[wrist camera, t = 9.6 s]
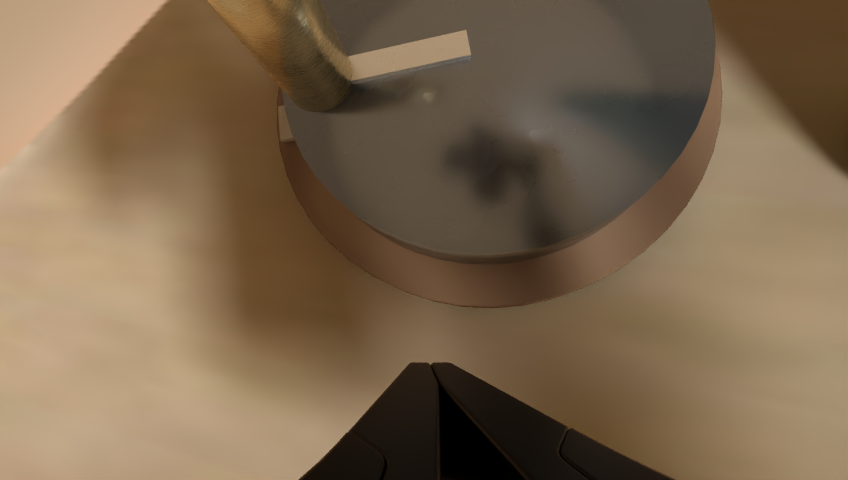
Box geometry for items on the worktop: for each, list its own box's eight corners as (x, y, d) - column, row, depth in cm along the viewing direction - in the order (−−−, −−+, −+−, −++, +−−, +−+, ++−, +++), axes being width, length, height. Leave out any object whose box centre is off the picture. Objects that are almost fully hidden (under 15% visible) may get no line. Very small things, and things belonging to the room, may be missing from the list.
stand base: (643, -106, 20) (657, -146, 19) (760, 271, 16) (792, 264, 15) (280, -20, 22) (263, -48, 21) (306, 336, 18) (288, 337, 17)
